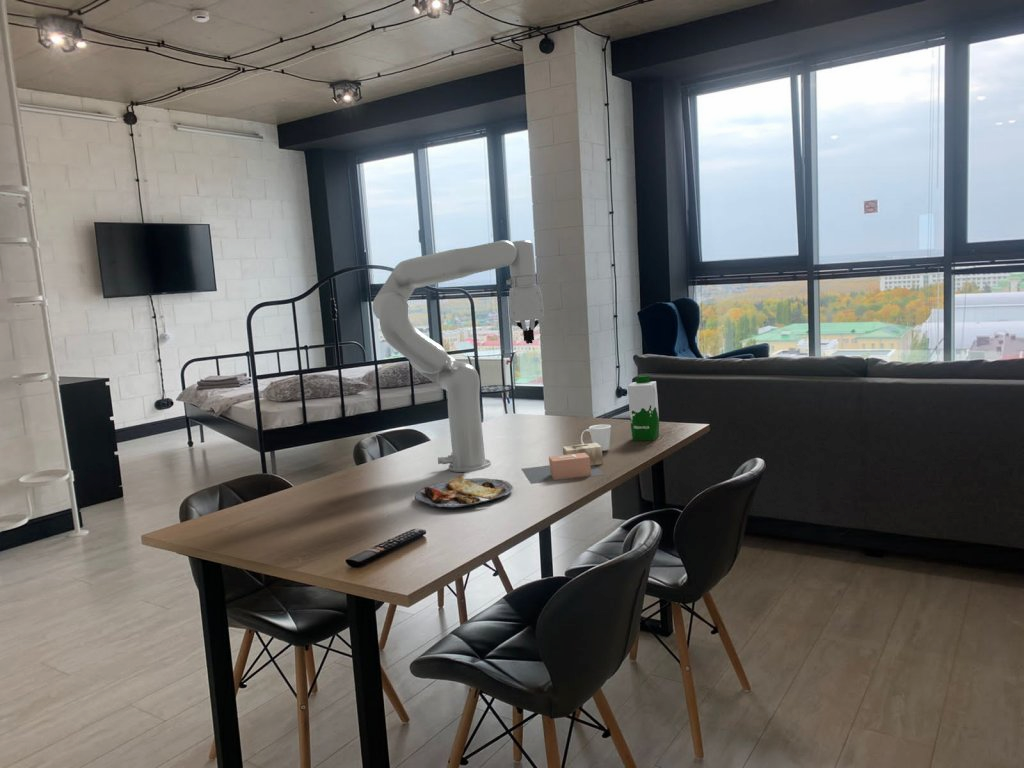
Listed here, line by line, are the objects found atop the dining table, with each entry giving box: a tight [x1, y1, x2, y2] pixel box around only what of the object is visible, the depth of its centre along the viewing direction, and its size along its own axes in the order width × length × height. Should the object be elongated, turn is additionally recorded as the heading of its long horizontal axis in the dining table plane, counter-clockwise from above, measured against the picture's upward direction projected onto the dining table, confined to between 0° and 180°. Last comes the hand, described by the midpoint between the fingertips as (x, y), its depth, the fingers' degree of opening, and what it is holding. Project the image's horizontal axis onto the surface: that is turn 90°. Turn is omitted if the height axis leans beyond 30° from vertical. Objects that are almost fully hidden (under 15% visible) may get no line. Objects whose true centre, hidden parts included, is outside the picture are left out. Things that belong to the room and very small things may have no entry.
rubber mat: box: [521, 464, 606, 485], centre depth 212 cm, size 20×18×1 cm
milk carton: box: [627, 374, 660, 441], centre depth 247 cm, size 9×9×20 cm
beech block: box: [562, 443, 604, 466], centre depth 219 cm, size 5×6×10 cm
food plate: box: [414, 475, 514, 509], centre depth 196 cm, size 25×23×4 cm
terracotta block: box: [548, 453, 591, 480], centre depth 207 cm, size 5×6×10 cm
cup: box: [580, 424, 612, 452], centre depth 233 cm, size 7×10×8 cm
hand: (529, 343), depth 233 cm, fingers closed
